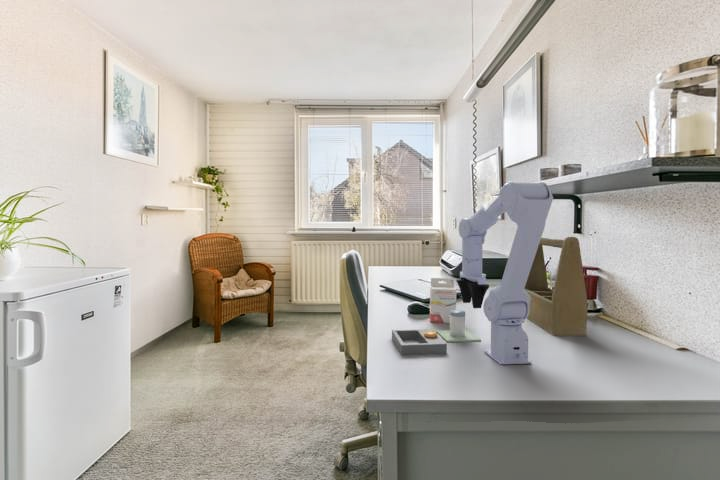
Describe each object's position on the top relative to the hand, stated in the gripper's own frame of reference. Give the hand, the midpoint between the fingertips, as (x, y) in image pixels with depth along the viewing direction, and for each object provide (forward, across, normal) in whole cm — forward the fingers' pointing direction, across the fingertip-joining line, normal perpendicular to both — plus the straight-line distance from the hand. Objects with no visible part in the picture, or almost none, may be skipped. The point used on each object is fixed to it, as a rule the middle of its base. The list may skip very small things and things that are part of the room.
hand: (471, 305), depth 113 cm
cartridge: (+9, +1, +4) cm, 10 cm away
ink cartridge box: (+10, +19, +2) cm, 22 cm away
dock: (+10, -6, +18) cm, 21 cm away
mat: (+10, +1, +4) cm, 10 cm away
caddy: (+10, +12, -32) cm, 36 cm away
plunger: (+9, -6, +14) cm, 18 cm away
